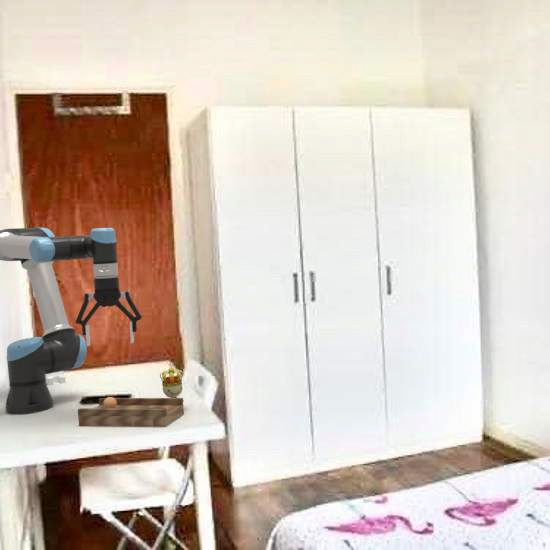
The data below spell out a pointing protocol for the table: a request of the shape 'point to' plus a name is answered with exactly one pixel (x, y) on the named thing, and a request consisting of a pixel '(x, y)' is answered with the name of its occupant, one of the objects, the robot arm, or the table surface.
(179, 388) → the toy
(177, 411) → the brown wooden tray
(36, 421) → the table surface
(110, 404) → the ball
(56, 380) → the slotted bracket
